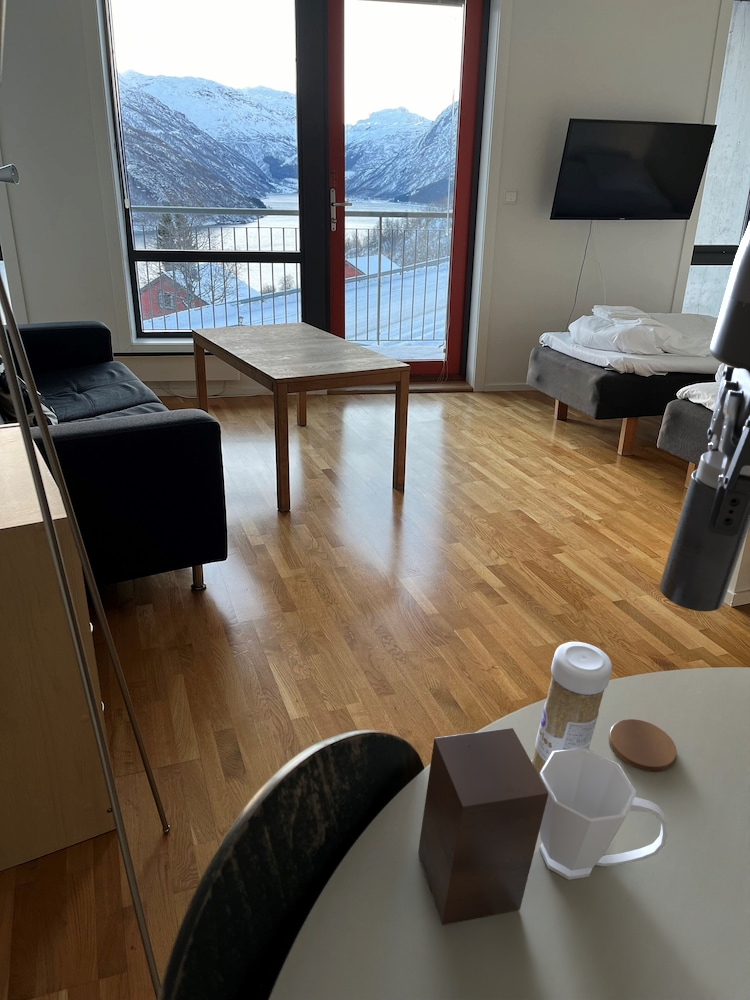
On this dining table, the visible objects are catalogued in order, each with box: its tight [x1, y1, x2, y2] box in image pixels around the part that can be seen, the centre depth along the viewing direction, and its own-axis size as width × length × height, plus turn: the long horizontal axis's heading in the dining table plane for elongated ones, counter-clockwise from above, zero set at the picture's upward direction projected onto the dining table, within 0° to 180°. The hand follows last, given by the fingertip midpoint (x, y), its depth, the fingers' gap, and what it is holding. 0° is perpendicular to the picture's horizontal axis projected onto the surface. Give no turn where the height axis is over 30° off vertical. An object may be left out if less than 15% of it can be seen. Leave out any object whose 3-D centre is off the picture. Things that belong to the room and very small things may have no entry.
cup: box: [538, 748, 668, 881], centre depth 56 cm, size 7×10×8 cm
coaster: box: [608, 718, 678, 772], centre depth 69 cm, size 6×6×1 cm
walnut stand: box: [417, 727, 549, 926], centre depth 53 cm, size 6×6×12 cm
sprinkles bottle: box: [530, 641, 613, 776], centre depth 62 cm, size 5×5×13 cm
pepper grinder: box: [659, 451, 750, 613], centre depth 58 cm, size 5×5×12 cm
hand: (716, 514), depth 58 cm, fingers closed on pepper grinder, 5 cm apart
